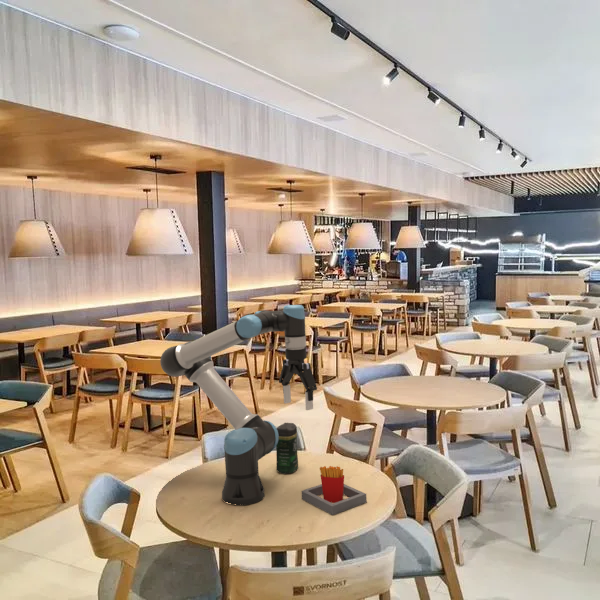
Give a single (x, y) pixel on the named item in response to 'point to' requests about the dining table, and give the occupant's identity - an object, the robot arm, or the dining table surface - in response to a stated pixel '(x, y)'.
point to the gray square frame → (334, 508)
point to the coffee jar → (287, 448)
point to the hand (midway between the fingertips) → (298, 406)
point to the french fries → (332, 483)
